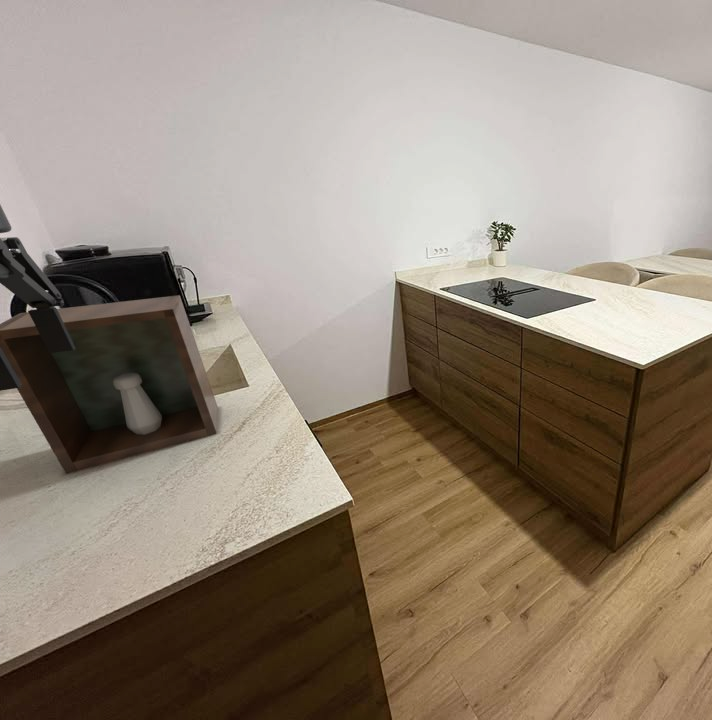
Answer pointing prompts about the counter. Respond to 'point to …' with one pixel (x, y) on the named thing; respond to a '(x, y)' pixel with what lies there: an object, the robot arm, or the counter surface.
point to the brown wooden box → (95, 379)
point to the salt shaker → (137, 404)
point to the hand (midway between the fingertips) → (37, 368)
